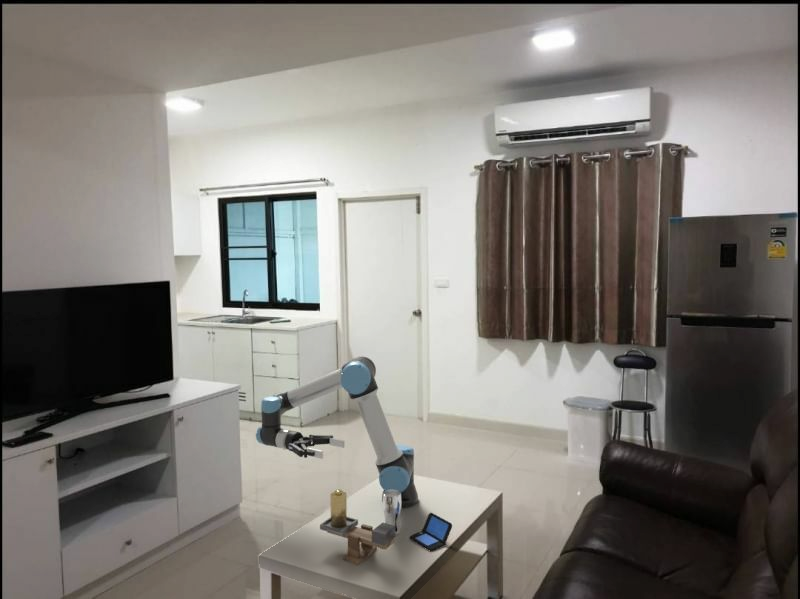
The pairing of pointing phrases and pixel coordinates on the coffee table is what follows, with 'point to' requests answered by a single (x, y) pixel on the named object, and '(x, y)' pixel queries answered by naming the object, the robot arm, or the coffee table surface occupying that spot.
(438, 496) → the coffee table surface
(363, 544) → the beam stand
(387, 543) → the balance beam
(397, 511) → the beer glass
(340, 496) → the brass weight
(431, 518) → the handheld game console
